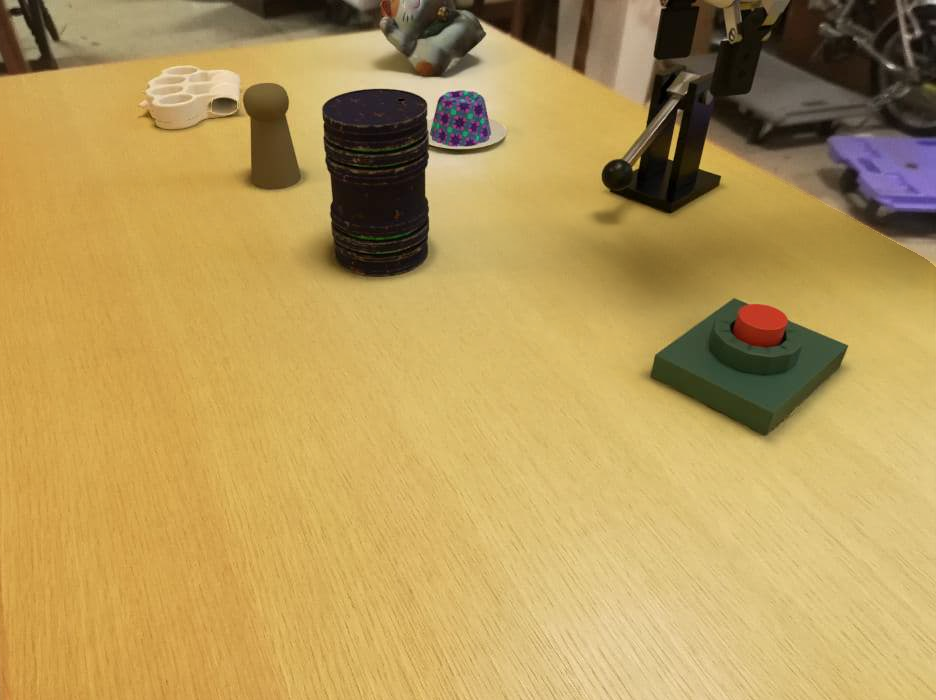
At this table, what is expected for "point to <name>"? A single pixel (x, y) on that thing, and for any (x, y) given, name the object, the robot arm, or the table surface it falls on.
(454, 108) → the pudding
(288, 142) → the brown pawn
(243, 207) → the table surface
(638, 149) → the lever
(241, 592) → the table surface
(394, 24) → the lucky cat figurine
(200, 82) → the white brass knuckles
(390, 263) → the dark purple cylinder
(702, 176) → the bracket
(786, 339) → the button box
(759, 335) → the button
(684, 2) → the robot arm
